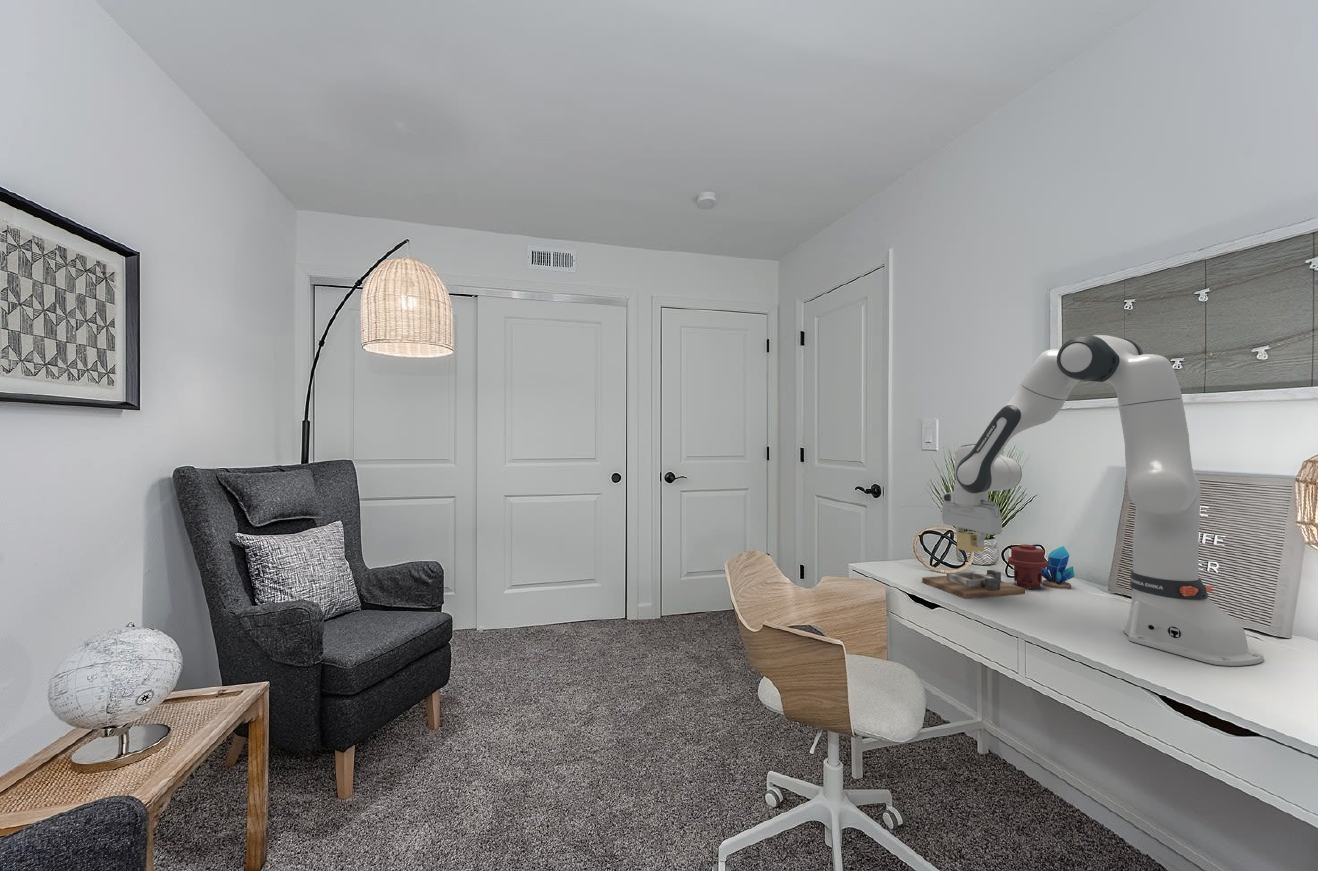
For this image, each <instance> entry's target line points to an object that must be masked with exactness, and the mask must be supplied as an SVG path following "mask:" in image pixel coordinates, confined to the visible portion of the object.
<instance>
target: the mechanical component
mask: <svg viewBox="0 0 1318 871" xmlns="http://www.w3.org/2000/svg"><path fill="white" fill-rule="evenodd" d="M1010 553H1011V554H1010V555H1011V556H1008V558H1007V560H1008V561H1007V562H1008V564H1009V565H1012V566H1013V580H1014V582H1016V586H1019V587H1022V588H1025V590H1031V589H1036V588H1037V589H1038V588H1040V587H1041V584H1042V581H1043V577H1042V569H1043V568H1046V569H1047V568H1048V560H1046V559H1045V550H1044V549H1042V548H1039V547H1037V546H1036V545H1033V544H1026V543H1023V544H1020V545H1019V546H1012V547H1011V552H1010Z"/></svg>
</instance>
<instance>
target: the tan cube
mask: <svg viewBox="0 0 1318 871" xmlns="http://www.w3.org/2000/svg"><path fill="white" fill-rule="evenodd" d="M956 536H957V537H956V548H957V550H960V551H961V550H962V551H964V552H968V553H975V552H977V553H979V552H985V540H984V541H983V547H976V546H975V545H974V544H975V543H974V540H977V538H978V535H977V531H972V530H969V531H968V530H967V531H963V532H957V533H956Z"/></svg>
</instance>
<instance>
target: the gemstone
mask: <svg viewBox="0 0 1318 871" xmlns="http://www.w3.org/2000/svg"><path fill="white" fill-rule="evenodd" d="M1047 556H1048V557H1047V561H1048V567H1046V568H1043V569H1042V578H1044V579H1042V583H1041V584H1042V585H1043V586H1045V587H1048V588H1052V589H1058V588H1069V589H1071V588H1072V584H1071V583H1070V582H1068V581H1069V580H1071V579H1073V578H1075V572H1074V566H1073V565H1072V566H1069V567H1068V568H1067V566H1068V563H1069V558H1070V553H1069V552H1068V550H1067V549H1066V548H1065V546H1064V545H1061V546H1059V547H1057V548H1055V549H1053V550H1052V551H1051V552H1050V553H1049V554H1048V555H1047Z"/></svg>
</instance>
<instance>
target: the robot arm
mask: <svg viewBox="0 0 1318 871" xmlns="http://www.w3.org/2000/svg"><path fill="white" fill-rule="evenodd" d="M1034 360H1035V361H1034V362H1033V363H1032V364H1031V365H1030V367H1029V369H1028V370H1027V371H1026V374H1025V375H1024V377H1023V378H1022V380H1021V382H1020V384H1019V386H1018V387H1017V389H1016V390H1015V392H1014V394H1013V395H1012V397H1011V398H1010V399H1009V400H1008V401H1007V403H1006V404H1005V405H1004V406H1003V407H1002V408H1001V409H1000V410H999V411H998V412H997V413H996V414H995V415H994V416H993V418H992V419H991V421H990V423H989V424H988V425H987V426H986V428H985V430H984V432H983V433H982V435H981V436H980V438H979V439H978V441H977V442H976V443H972V444H965V445H961V446H959V447H958V448H957V450H956V453H955V457H954V476H955V484H954V487H953V489H954V490H952V491H951V492H946V493H944V494H942V496H941V500H942V505H941V521H942V523H943V524H944V525H945V526H946V525H948V526H951V527H955V530H954V531H955V532H956V534H957V532H965V530H967V531H968V530H969V531H972V532H976V533H977V535H978V538H977V540H974V543H975V544H974V545H975V546H976V547H983V541H984V542H985V540H986V539H987V535H991V536H993V535H994V536H996V535H997V536H998V535H1001V533H1002V532H1003V521H1002V516H1001V515H1002V514H1001V512H1000V507H999V506H998V504H997V503H996V502H995V501H989V492H996V491H997V492H998V491H1008V490H1012V489H1014V488H1016V487H1017V486H1018V485H1019V484H1020V482H1021V479H1022V476H1023V474H1022V472H1023V471H1022V468H1021V465H1020V464H1019V462H1018V461H1017V460H1015V459H1014V458H1012V457H1009V456H1005V455H1002V454H1001V453H1002V452H1003V450H1004V449H1005V447H1006V446H1007V444H1008V443H1009V442H1010V440H1012V438H1014V437H1015V436H1016V435H1018V434H1019V433H1021V432H1023V431H1025V430H1028V429H1030V428H1032V427H1036V426H1039V425H1044V424H1045V423H1047V422H1050V421H1051V420H1052V419H1054V418H1055V416H1056V415H1057V414H1058V413H1059V412H1060V411H1061V409H1062V408H1063V407H1064V404H1065V403H1066V401H1067V399H1068V398H1069V396H1070V393H1071V392H1072V390H1073V389H1074V388H1075V386H1076V385H1077V384H1078V383H1079V382H1095V383H1097V382H1098V383H1103V382H1104V383H1105V382H1106V383H1109V384H1110V385H1112V386H1113V388H1114V390H1115V393H1116V398H1117V403H1118V410H1119V417H1120V422H1121V430H1122V435H1123V439H1124V455H1125V456H1124V458H1125V461H1124V462H1125V471H1126V472H1125V473H1126V482H1127V491H1128V495H1129V498H1130V501H1131V502H1132V503H1133V504H1134V505H1135V515H1134V516H1135V518H1134V527H1133V534H1132V570H1131V571H1130V582H1129V583H1130V584H1129V586H1130V589H1131V603H1130V608H1129V613H1128V618H1127V620H1126V625H1125V627H1124V629H1123V632H1124V634H1126V635H1127V636H1128V641H1130V642H1132V643H1136V644H1138V645H1143V646H1147V647H1151V648H1153V649H1156V650H1160V651H1164V652H1166V653H1167V652H1168V653H1172V654H1175V655H1178V656H1181V657H1186V658H1187V659H1188V658H1189V659H1192V660H1197V661H1200V662H1204V663H1207V664H1209V665H1210V664H1211V665H1216V666H1230V667H1231V666H1232V667H1233V666H1234V667H1236V666H1237V667H1238V666H1240V667H1241V666H1249V665H1256V664H1260V663H1263V662H1264V660H1265V659H1264V654H1263V653H1261V652H1258V651H1256V650H1254V649H1250V648H1249V646H1248V639H1247V636H1246V632H1245V629H1244V627H1243V626H1242V624H1241V623H1240V622H1238V621H1236V620H1235V618H1233V617H1231V616H1230V615H1229V614H1227V612H1225V611H1224V610H1223V609H1221V607H1219V605H1217V604H1215V603H1214V602H1213V601H1212V600H1211V599H1209V593H1208V592H1214V590H1213V589H1212V588H1214V585H1205V584H1204V583H1203V581H1202V579H1201V578H1200V577H1199V576H1200V575H1199V574H1200V573H1199V572H1200V571H1199V570H1200V566H1199V565H1200V563H1199V560H1200V559H1199V558H1200V557H1199V553H1200V552H1199V550H1200V548H1199V544H1200V541H1199V540H1200V524H1201V522H1200V521H1201V519H1200V518H1201V494H1202V493H1201V492H1202V491H1201V490H1202V489H1201V488H1202V487H1201V482H1200V480H1199V478H1198V477H1197V475H1196V474H1195V473H1194V471H1193V470H1194V469H1193V463H1192V456H1191V447H1190V434H1189V428H1188V423H1187V422H1188V421H1187V418H1186V412H1185V406H1184V401H1183V396H1182V390H1181V386H1180V383H1179V380H1178V377H1177V375H1176V372H1175V369H1174V367H1173V366H1172V363H1171V362H1170V360H1169V359H1168V358H1167V357H1165V356H1163V355H1159V354H1154V353H1151V354H1150V353H1147V354H1146V353H1144V351H1143V350H1142V348H1141V346H1140V345H1139V344H1137V343H1136V342H1134V340H1131V339H1129V338H1124V337H1117V336H1112V335H1108V334H1107V335H1105V334H1093V335H1091V334H1084V335H1080V336H1076V337H1073V338H1070V339H1069V340H1067V341H1066V342H1064V343H1063V345H1062V346H1060V348H1053V349H1052V348H1051V349H1047V350H1045V351H1043V352H1042V353H1040V354H1039V355H1038V357H1037V358H1036V359H1034Z"/></svg>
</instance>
